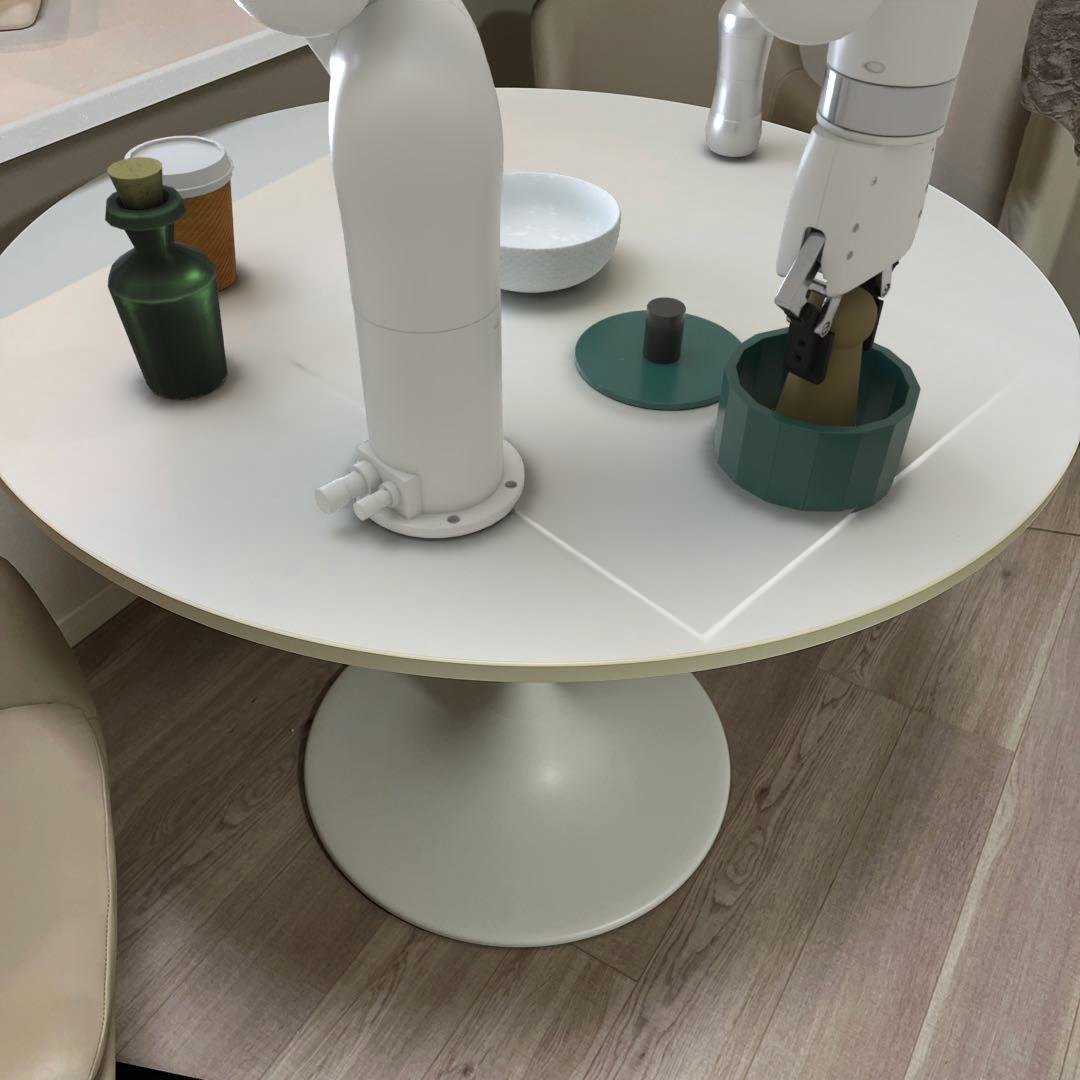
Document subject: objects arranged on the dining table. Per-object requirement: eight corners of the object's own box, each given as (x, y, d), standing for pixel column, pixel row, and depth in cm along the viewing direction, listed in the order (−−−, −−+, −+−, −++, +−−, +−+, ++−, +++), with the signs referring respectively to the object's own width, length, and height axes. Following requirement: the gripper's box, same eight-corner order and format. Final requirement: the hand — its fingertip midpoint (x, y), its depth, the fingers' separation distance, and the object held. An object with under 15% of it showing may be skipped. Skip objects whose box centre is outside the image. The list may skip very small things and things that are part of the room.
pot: (827, 543, 74) (850, 458, 69) (677, 457, 81) (688, 374, 76) (927, 460, 81) (955, 377, 76) (781, 387, 88) (797, 308, 83)
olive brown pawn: (855, 453, 76) (890, 319, 69) (770, 442, 77) (796, 309, 69) (853, 406, 80) (886, 274, 73) (773, 396, 81) (798, 265, 74)
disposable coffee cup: (268, 287, 99) (246, 162, 91) (168, 313, 95) (136, 186, 87) (234, 246, 105) (210, 126, 97) (138, 270, 101) (105, 146, 93)
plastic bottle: (719, 167, 121) (744, -25, 108) (692, 145, 126) (713, -41, 112) (768, 159, 123) (799, -30, 109) (740, 138, 127) (765, -46, 114)
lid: (671, 439, 82) (678, 377, 79) (538, 364, 90) (539, 305, 86) (781, 367, 90) (793, 308, 86) (651, 304, 98) (656, 247, 94)
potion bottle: (249, 392, 86) (205, 179, 74) (148, 417, 84) (85, 200, 72) (224, 344, 92) (179, 138, 80) (128, 366, 89) (67, 156, 77)
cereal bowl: (653, 284, 101) (659, 213, 96) (515, 340, 93) (515, 267, 88) (541, 220, 110) (542, 154, 106) (408, 267, 103) (403, 197, 98)
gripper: (904, 50, 69) (848, 297, 81) (746, 118, 60) (709, 385, 72) (1012, 78, 65) (936, 334, 77) (860, 156, 56) (801, 432, 68)
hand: (827, 356), depth 75 cm, fingers closed on olive brown pawn, 5 cm apart
